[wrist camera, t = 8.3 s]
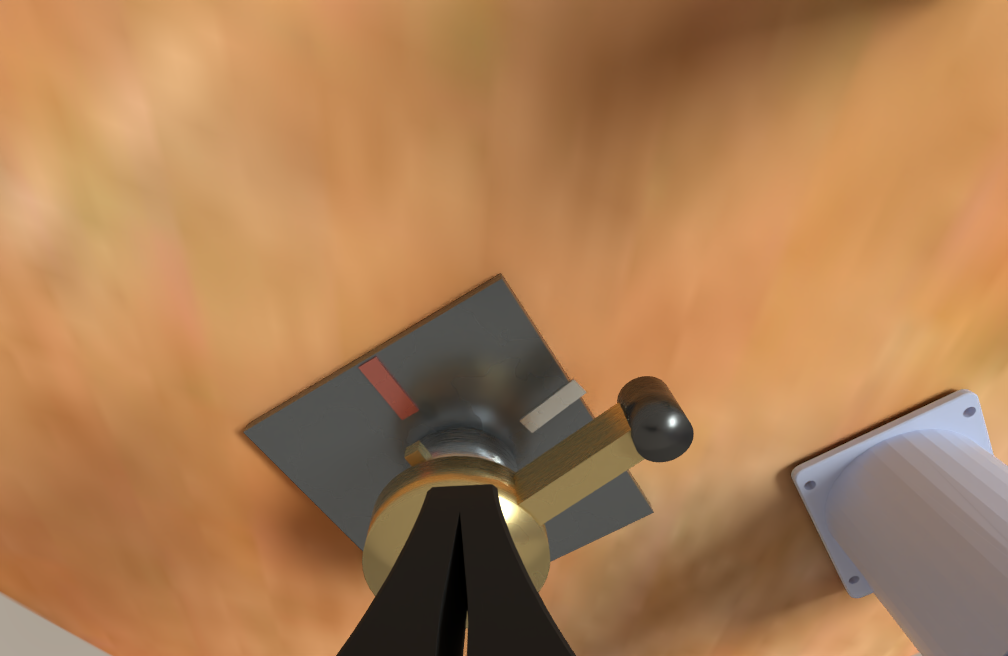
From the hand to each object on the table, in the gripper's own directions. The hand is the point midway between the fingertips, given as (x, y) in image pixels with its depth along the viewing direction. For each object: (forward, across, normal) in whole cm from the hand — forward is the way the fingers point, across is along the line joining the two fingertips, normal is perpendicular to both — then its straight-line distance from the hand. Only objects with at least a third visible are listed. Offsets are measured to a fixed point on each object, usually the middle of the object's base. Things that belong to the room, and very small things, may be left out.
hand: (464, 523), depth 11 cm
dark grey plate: (+10, +1, +7) cm, 12 cm away
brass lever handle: (+7, -2, +5) cm, 9 cm away
